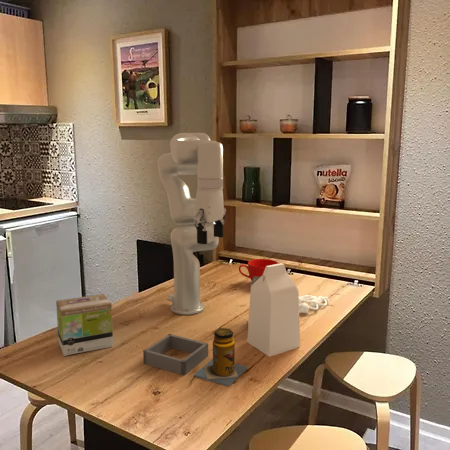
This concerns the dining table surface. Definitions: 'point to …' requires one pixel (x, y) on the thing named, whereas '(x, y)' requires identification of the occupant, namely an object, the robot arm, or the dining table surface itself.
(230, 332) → the condiment
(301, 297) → the tangled rod sculpture
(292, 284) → the milk
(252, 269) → the ceramic cup
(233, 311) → the dining table surface
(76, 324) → the tea box
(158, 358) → the bin
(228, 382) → the slate mat
